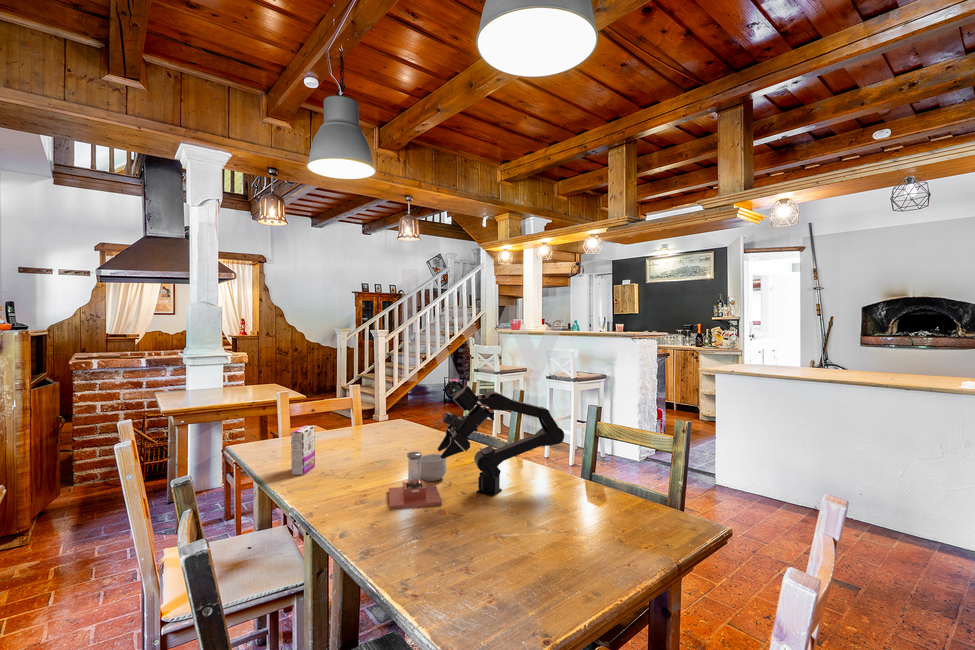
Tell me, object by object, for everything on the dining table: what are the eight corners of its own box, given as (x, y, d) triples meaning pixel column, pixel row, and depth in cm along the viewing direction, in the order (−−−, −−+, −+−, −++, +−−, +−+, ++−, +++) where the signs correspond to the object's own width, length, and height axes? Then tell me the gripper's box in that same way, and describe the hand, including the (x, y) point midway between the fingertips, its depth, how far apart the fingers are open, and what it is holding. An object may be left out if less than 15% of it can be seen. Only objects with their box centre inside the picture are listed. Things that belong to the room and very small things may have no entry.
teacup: (432, 485, 160) (432, 463, 160) (410, 479, 167) (411, 457, 167) (457, 475, 171) (458, 454, 172) (437, 470, 178) (437, 449, 178)
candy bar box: (303, 466, 182) (303, 425, 182) (315, 466, 182) (315, 425, 182) (290, 475, 170) (290, 431, 171) (303, 475, 170) (303, 432, 170)
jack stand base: (435, 487, 158) (435, 475, 158) (441, 505, 143) (442, 491, 143) (388, 491, 154) (388, 479, 154) (390, 509, 139) (390, 496, 139)
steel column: (420, 490, 151) (421, 451, 151) (422, 495, 147) (422, 455, 147) (406, 491, 150) (406, 452, 150) (407, 496, 146) (407, 456, 146)
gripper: (453, 399, 162) (421, 431, 159) (461, 408, 143) (425, 444, 141) (474, 421, 163) (442, 452, 161) (484, 433, 145) (449, 468, 142)
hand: (439, 454), depth 151 cm, fingers open, 9 cm apart
